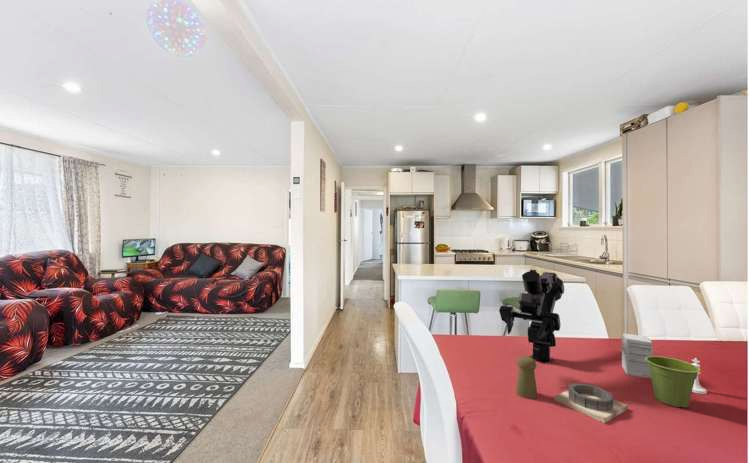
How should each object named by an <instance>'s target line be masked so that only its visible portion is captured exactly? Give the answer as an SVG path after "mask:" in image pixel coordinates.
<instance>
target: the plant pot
mask: <svg viewBox="0 0 749 463" xmlns="http://www.w3.org/2000/svg"><path fill="white" fill-rule="evenodd" d="M645 359H646V361H647V362H648V366H649V369H650V372H651V378H652V379H651V378H650V379H651V382H652V387H653V394H654V398H655V399H657V400H658V402H661V403H662V404H665V405H667V406H670V407H675V408H678V407H682V408H683V409H684V408H688V407H689V405H690V401H691V397H692V393H693V392H692V389H693V385H694V381H695V379H696V377H697V374H698V372H700V373H701V370H702V369H701V367H700V368H698V367H697V366H695V365H693V364H692V363H690V362H688V361H684V360H681V359H677V358H672V357H666V356H660V355H653V356H648V357H646V358H645ZM698 375H699V374H698Z"/></svg>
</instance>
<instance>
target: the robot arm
mask: <svg viewBox="0 0 749 463" xmlns="http://www.w3.org/2000/svg"><path fill="white" fill-rule="evenodd" d="M521 278H522V284H523V288H524V291H525V292H526V293H525V292H520V293H519V297H518V302H517V303H519V310H520V311H519V310H514V307H513V306H508V305H501V306H500V307H499V309H498V312H499V315H500V319H501V322H504V323H505V324H506V327H507V329H506V330H507V334H508V335H510V334H511V333H512V329H513V326H514V321H515V318H517V319H521V320H522V319H523V320H524V321H529V322H530V324H529V326H528V328H527V338H528V343H530V344H531V343H532V355H529V356H528V357H531V358H533V359H534V360H535V361H537V362H540V363H543V364H546V363H549V362H553V361H554V360H555V359H554V358H553V357H551V348H553V347H556V346H557V344H556V343H557V342H556V335H555V333H554V332H555V331H557V332H559V331H561V330H560V329H561V324H562V323H561V319H560V315H559V314H558V312H557V313H556V312H554V308H555V305H556V302H557V301H558V300H560V299H562V297H563V294H564V292H565V284H564V281H563V279H561V278H559V277H558V275H557V273H555V272H551V271H550V272H547V271H544V272H542V274H541V275H540V273H539V272H537V270H536V269H530V270H529V271H526V272H524V273H523V274H522V276H521Z"/></svg>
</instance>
